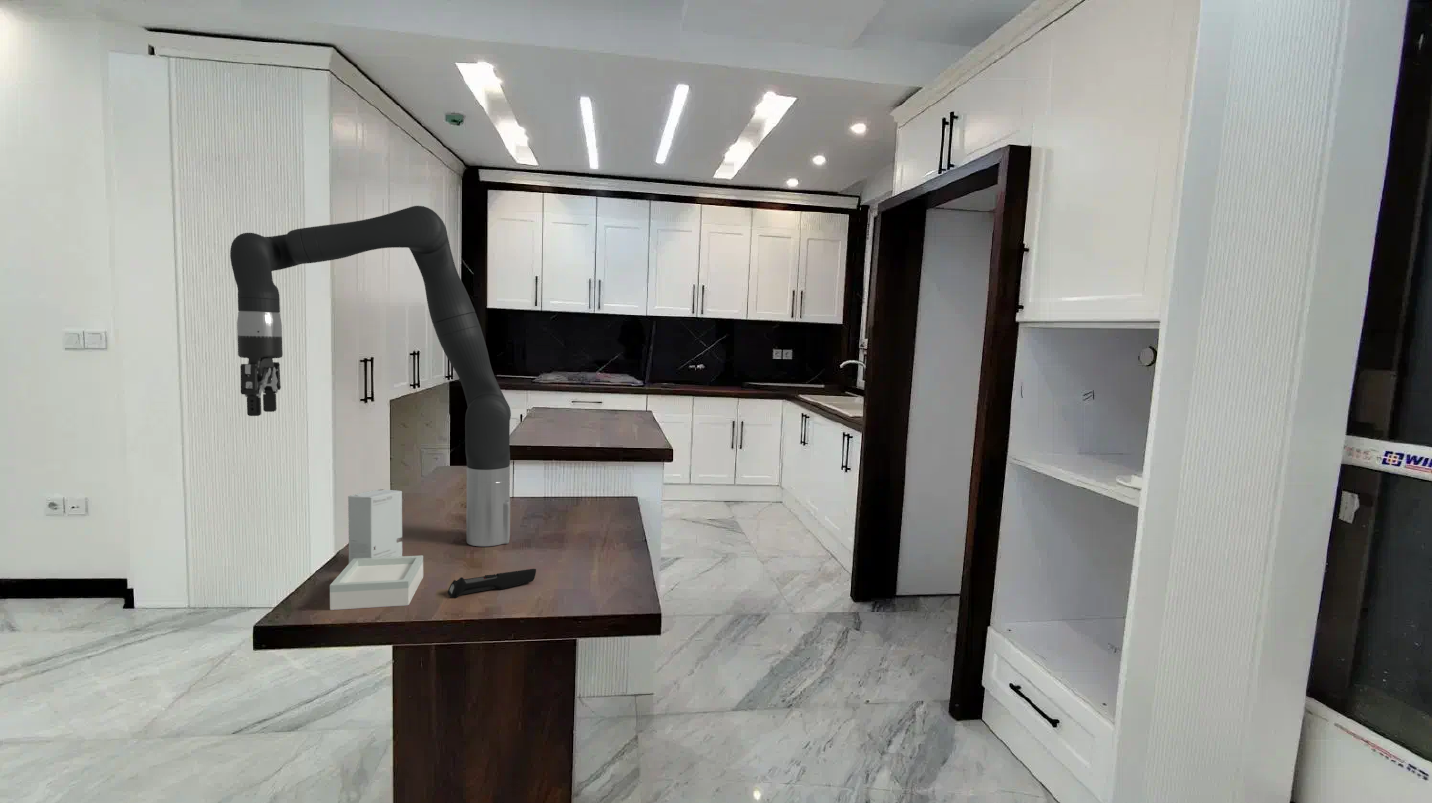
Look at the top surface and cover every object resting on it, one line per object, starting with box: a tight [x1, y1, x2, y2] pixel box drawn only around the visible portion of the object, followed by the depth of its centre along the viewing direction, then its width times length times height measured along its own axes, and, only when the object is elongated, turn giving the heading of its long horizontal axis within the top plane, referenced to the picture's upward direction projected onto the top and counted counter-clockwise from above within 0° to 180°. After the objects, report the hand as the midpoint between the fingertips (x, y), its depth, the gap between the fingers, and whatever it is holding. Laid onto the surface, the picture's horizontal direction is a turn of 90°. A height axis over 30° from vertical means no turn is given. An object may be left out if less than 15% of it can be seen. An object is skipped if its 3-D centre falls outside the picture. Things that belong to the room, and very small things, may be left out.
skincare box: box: [347, 488, 403, 564], centre depth 131 cm, size 8×6×15 cm
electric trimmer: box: [447, 568, 537, 599], centre depth 121 cm, size 4×16×3 cm, turn 122°
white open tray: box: [329, 554, 424, 611], centre depth 117 cm, size 12×14×4 cm
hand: (262, 413), depth 136 cm, fingers open, 8 cm apart
